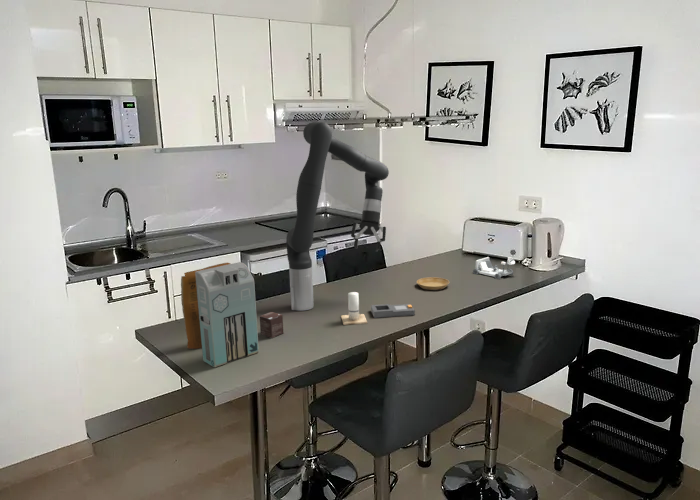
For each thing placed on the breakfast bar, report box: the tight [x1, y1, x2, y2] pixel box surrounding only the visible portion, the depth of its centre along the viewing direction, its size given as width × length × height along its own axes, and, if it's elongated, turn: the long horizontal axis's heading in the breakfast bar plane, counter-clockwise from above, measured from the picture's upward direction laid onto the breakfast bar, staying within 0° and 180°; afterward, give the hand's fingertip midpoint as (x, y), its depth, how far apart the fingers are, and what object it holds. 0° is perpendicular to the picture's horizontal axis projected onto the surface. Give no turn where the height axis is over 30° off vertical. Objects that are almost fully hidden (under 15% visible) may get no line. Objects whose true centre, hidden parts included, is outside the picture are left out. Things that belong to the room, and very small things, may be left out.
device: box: [195, 261, 260, 368], centre depth 180 cm, size 16×8×30 cm, turn 133°
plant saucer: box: [416, 276, 450, 291], centre depth 255 cm, size 15×15×3 cm
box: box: [259, 311, 284, 339], centre depth 202 cm, size 6×6×7 cm
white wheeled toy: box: [472, 256, 516, 280], centre depth 271 cm, size 18×10×12 cm
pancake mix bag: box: [180, 262, 232, 350], centre depth 192 cm, size 7×19×28 cm, turn 127°
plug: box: [347, 291, 360, 320], centre depth 213 cm, size 4×4×10 cm
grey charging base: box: [370, 303, 416, 319], centre depth 221 cm, size 16×8×3 cm, turn 97°
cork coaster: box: [340, 313, 368, 326], centre depth 215 cm, size 9×9×1 cm
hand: (366, 249), depth 232 cm, fingers open, 8 cm apart
